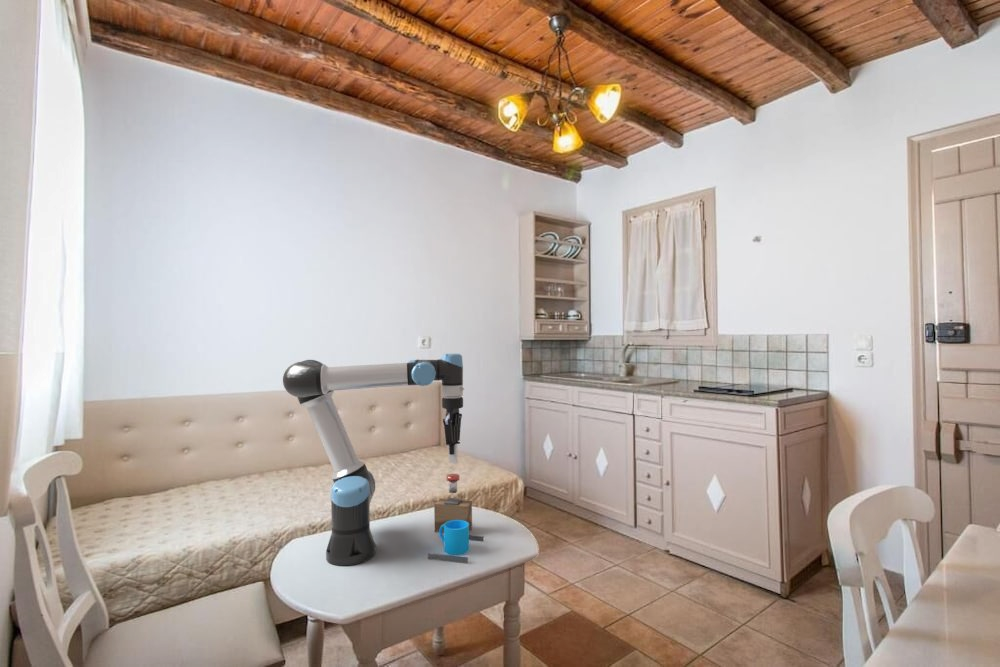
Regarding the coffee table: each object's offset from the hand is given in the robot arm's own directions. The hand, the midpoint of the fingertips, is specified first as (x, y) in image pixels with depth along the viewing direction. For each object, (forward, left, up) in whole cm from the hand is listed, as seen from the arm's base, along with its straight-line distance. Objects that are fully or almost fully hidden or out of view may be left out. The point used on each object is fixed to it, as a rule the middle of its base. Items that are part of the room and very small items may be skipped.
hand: (453, 462), depth 173 cm
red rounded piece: (0, 0, -11) cm, 11 cm away
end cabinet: (0, 0, -24) cm, 24 cm away
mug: (+5, -13, -25) cm, 28 cm away
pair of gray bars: (+6, -14, -24) cm, 29 cm away
